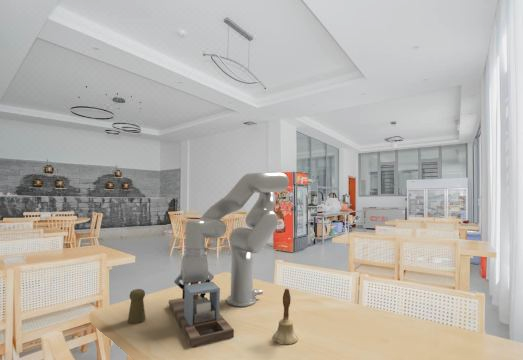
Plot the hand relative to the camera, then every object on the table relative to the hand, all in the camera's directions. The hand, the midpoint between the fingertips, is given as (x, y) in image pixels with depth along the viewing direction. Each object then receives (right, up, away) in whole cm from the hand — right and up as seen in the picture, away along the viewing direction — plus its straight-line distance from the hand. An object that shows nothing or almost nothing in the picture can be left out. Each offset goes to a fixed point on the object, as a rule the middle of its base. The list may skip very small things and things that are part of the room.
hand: (194, 298), depth 114 cm
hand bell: (+34, -6, -17) cm, 39 cm away
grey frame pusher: (+3, -3, -5) cm, 7 cm away
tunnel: (+5, -3, -9) cm, 11 cm away
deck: (+3, -6, -5) cm, 8 cm away
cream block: (+5, -3, -9) cm, 11 cm away
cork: (-20, -6, -6) cm, 21 cm away
